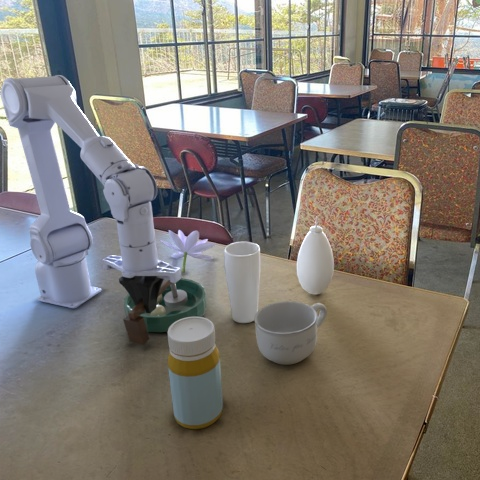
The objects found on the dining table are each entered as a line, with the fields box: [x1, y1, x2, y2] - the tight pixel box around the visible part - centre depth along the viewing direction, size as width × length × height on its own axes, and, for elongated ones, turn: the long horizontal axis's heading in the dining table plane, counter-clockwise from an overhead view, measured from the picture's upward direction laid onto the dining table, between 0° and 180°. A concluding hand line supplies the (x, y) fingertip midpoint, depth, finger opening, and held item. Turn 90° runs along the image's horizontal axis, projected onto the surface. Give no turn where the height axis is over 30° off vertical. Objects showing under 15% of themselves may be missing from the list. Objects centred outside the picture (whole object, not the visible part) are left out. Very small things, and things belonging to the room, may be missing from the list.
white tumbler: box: [223, 241, 262, 324], centre depth 92 cm, size 7×7×15 cm
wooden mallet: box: [123, 279, 188, 346], centre depth 89 cm, size 15×4×6 cm, turn 162°
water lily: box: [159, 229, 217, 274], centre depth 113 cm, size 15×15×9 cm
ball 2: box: [150, 305, 166, 316], centre depth 92 cm, size 3×3×3 cm
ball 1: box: [157, 294, 162, 304], centre depth 97 cm, size 3×3×3 cm
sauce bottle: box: [296, 215, 335, 296], centre depth 101 cm, size 8×8×18 cm
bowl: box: [123, 277, 208, 333], centre depth 95 cm, size 15×15×4 cm
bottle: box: [167, 316, 224, 430], centre depth 68 cm, size 7×7×15 cm
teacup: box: [253, 300, 328, 366], centre depth 84 cm, size 14×11×8 cm
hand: (147, 309), depth 86 cm, fingers closed on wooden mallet
